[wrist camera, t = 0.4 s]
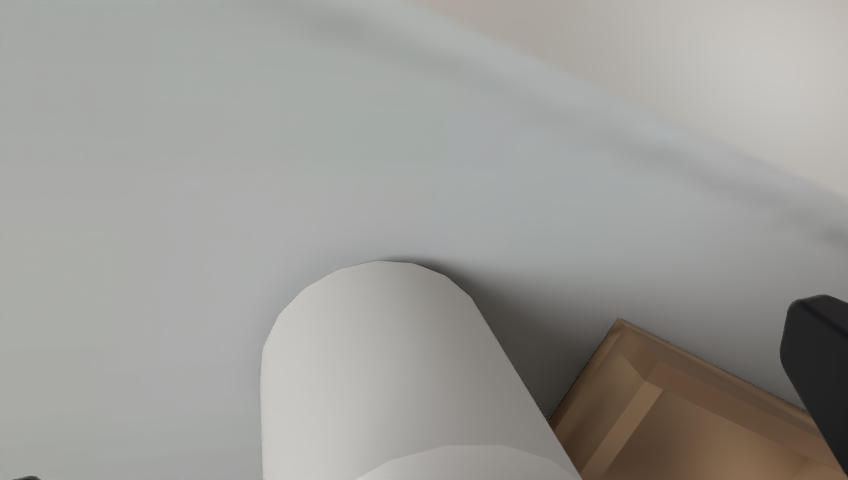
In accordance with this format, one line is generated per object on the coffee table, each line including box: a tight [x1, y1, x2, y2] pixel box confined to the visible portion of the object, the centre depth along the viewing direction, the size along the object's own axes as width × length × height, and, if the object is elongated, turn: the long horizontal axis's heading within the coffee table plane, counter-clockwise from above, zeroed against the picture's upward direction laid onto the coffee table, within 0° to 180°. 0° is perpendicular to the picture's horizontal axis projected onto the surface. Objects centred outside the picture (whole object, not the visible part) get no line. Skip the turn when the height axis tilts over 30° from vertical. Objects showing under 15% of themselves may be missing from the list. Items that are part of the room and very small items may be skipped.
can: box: [260, 261, 582, 480], centre depth 21 cm, size 8×8×12 cm
